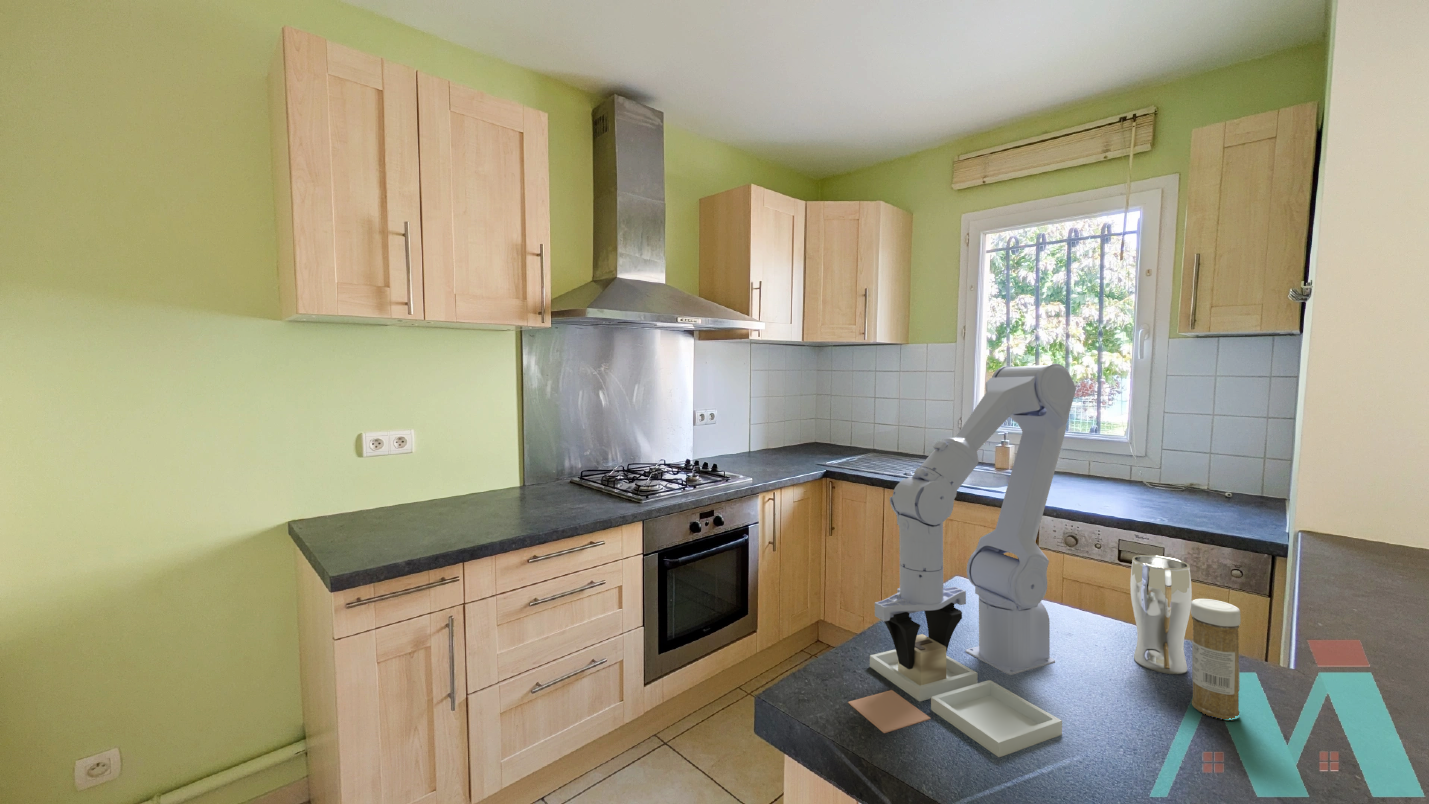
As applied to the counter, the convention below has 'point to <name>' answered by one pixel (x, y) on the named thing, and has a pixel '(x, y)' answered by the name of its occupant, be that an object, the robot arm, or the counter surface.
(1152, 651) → the beer glass
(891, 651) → the bin near arm
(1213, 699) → the sprinkles bottle
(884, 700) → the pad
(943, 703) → the bin near camera
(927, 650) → the letter cube
